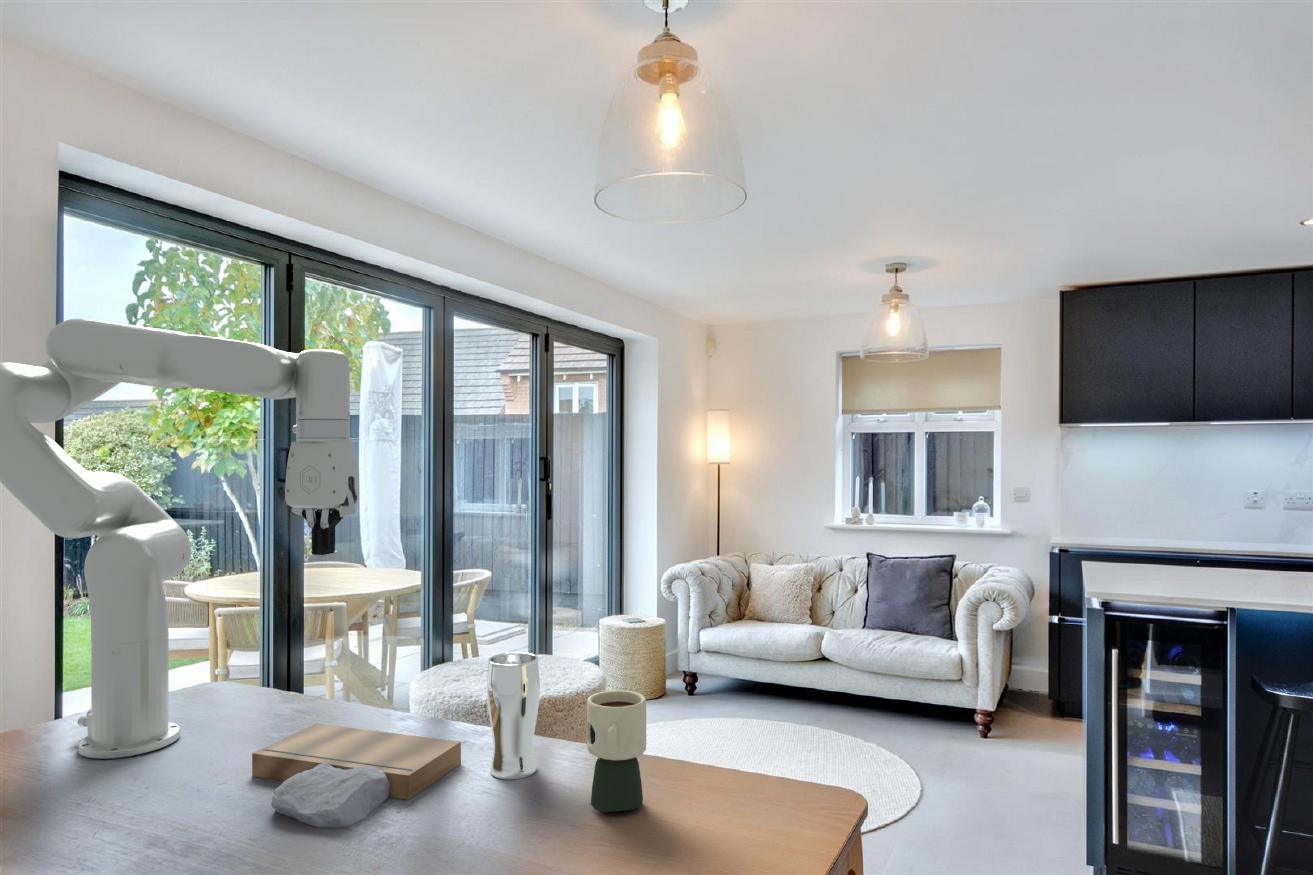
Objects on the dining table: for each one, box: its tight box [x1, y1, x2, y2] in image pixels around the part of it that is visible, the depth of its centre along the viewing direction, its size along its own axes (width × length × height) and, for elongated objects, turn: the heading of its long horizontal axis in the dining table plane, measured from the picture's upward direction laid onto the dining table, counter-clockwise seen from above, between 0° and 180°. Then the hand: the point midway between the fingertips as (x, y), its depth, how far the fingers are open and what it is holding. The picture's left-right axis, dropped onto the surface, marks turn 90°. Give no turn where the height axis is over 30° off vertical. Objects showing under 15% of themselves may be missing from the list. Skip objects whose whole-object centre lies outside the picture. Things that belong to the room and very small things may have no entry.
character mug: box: [586, 689, 647, 813], centre depth 99 cm, size 11×7×13 cm, turn 177°
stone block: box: [270, 763, 390, 829], centre depth 99 cm, size 12×5×10 cm
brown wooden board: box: [251, 723, 462, 801], centre depth 111 cm, size 24×12×3 cm, turn 72°
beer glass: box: [486, 651, 541, 781], centre depth 110 cm, size 7×7×15 cm
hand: (323, 553), depth 125 cm, fingers closed
